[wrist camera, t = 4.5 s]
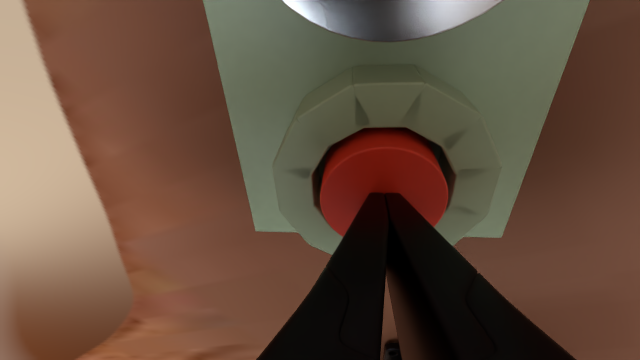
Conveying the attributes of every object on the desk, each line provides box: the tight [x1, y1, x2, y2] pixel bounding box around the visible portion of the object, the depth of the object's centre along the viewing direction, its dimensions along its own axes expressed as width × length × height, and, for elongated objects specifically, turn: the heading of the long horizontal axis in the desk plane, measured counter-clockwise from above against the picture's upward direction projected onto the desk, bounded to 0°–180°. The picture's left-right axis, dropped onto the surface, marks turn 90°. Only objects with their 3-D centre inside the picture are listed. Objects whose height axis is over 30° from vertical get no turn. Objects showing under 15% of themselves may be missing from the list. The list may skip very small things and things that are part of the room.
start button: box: [320, 127, 448, 237], centre depth 10 cm, size 4×4×2 cm
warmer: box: [203, 0, 590, 255], centre depth 8 cm, size 15×10×4 cm, turn 3°
